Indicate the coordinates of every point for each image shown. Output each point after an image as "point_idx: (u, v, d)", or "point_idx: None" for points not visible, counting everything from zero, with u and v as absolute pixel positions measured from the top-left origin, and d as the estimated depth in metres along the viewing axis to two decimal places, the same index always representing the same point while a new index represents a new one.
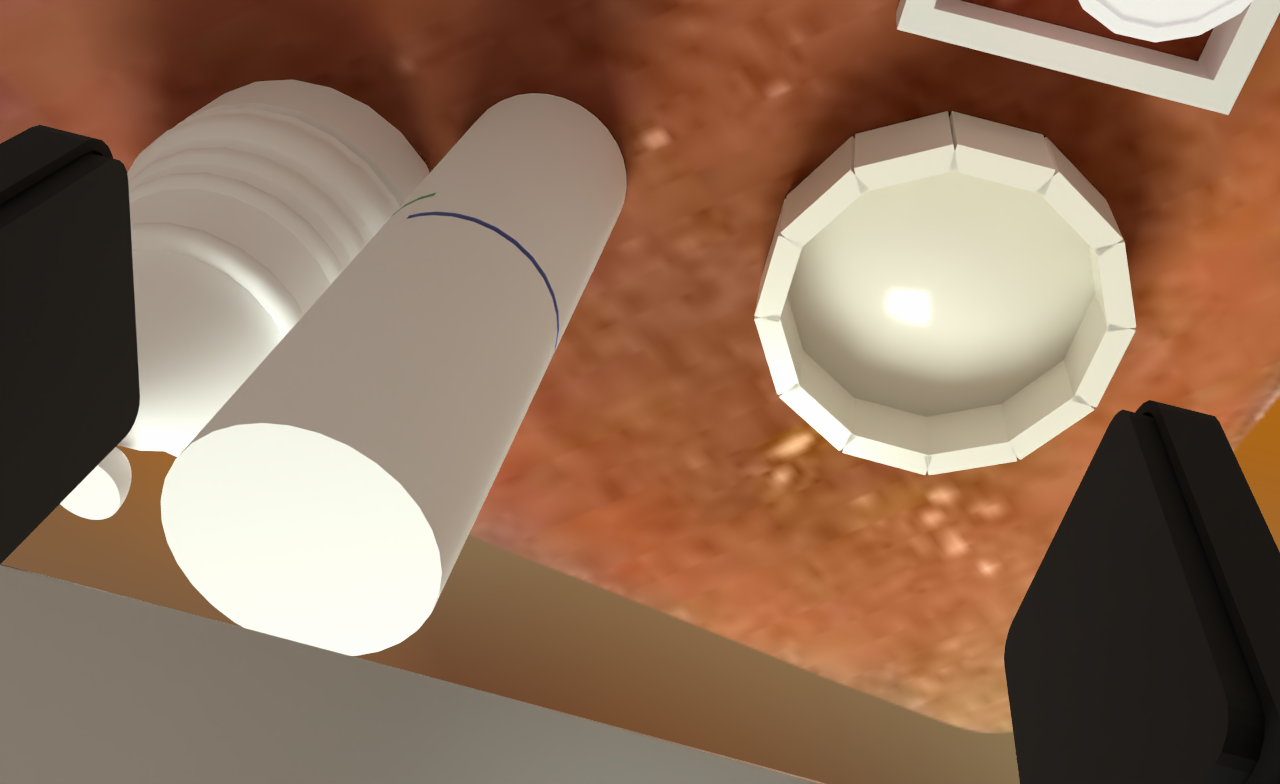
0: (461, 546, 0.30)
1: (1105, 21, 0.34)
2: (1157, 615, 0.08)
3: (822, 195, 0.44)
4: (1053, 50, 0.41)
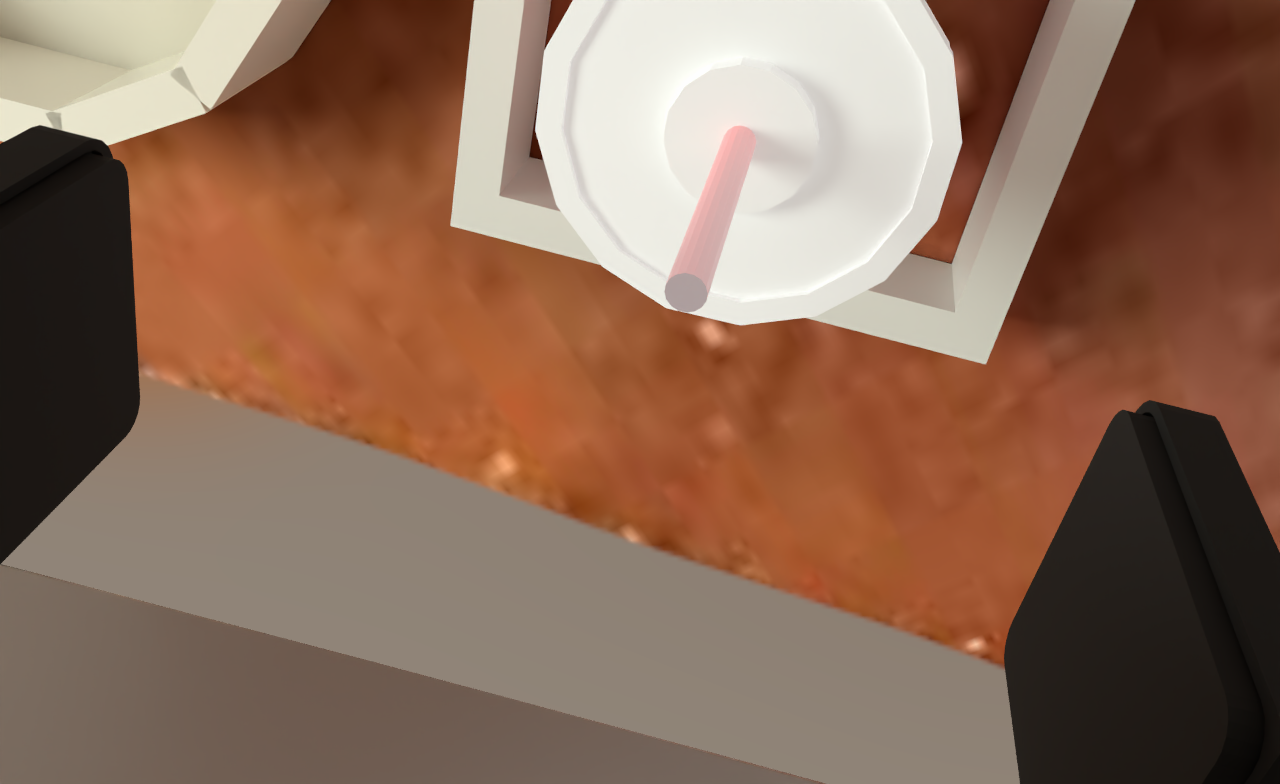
0: None
1: (565, 28, 0.17)
2: (1157, 615, 0.08)
3: None
4: None
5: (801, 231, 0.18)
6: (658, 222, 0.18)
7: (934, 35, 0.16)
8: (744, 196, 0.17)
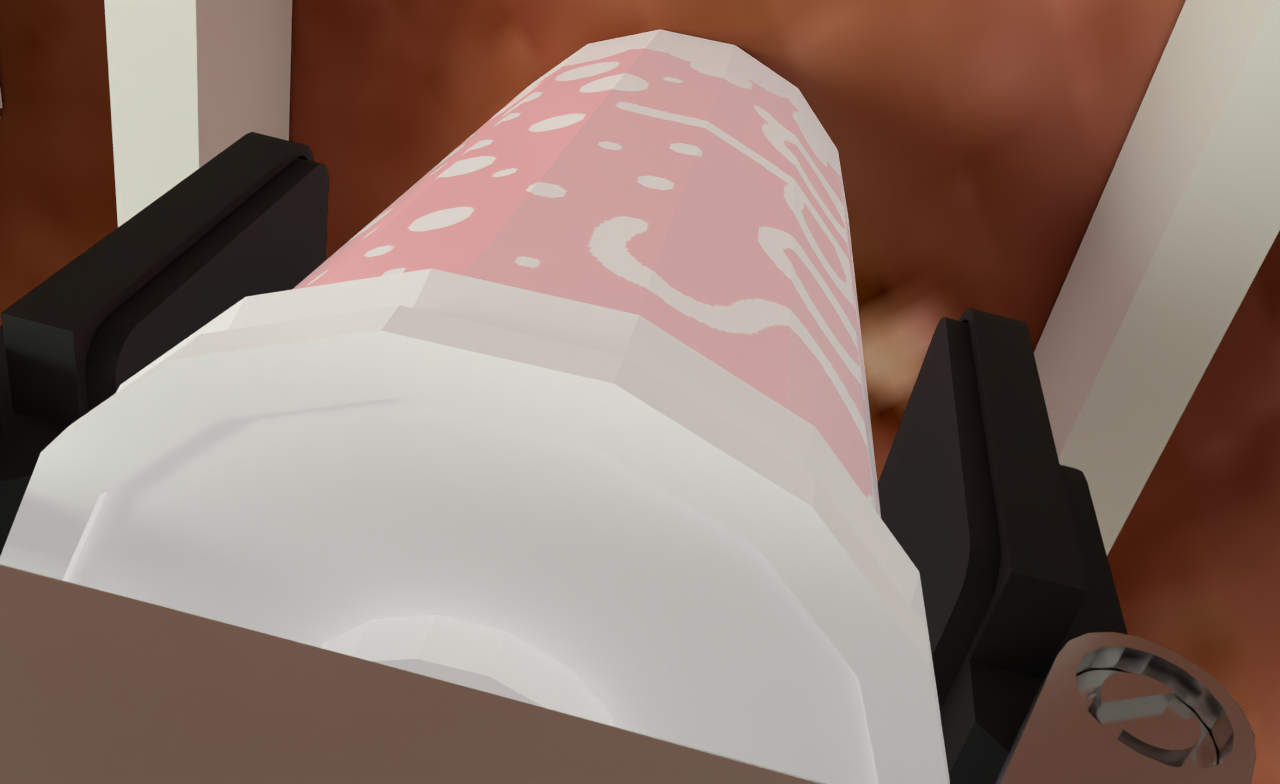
0: None
1: (26, 541, 0.07)
2: (941, 487, 0.09)
3: None
4: (165, 135, 0.13)
5: None
6: None
7: (881, 622, 0.06)
8: None
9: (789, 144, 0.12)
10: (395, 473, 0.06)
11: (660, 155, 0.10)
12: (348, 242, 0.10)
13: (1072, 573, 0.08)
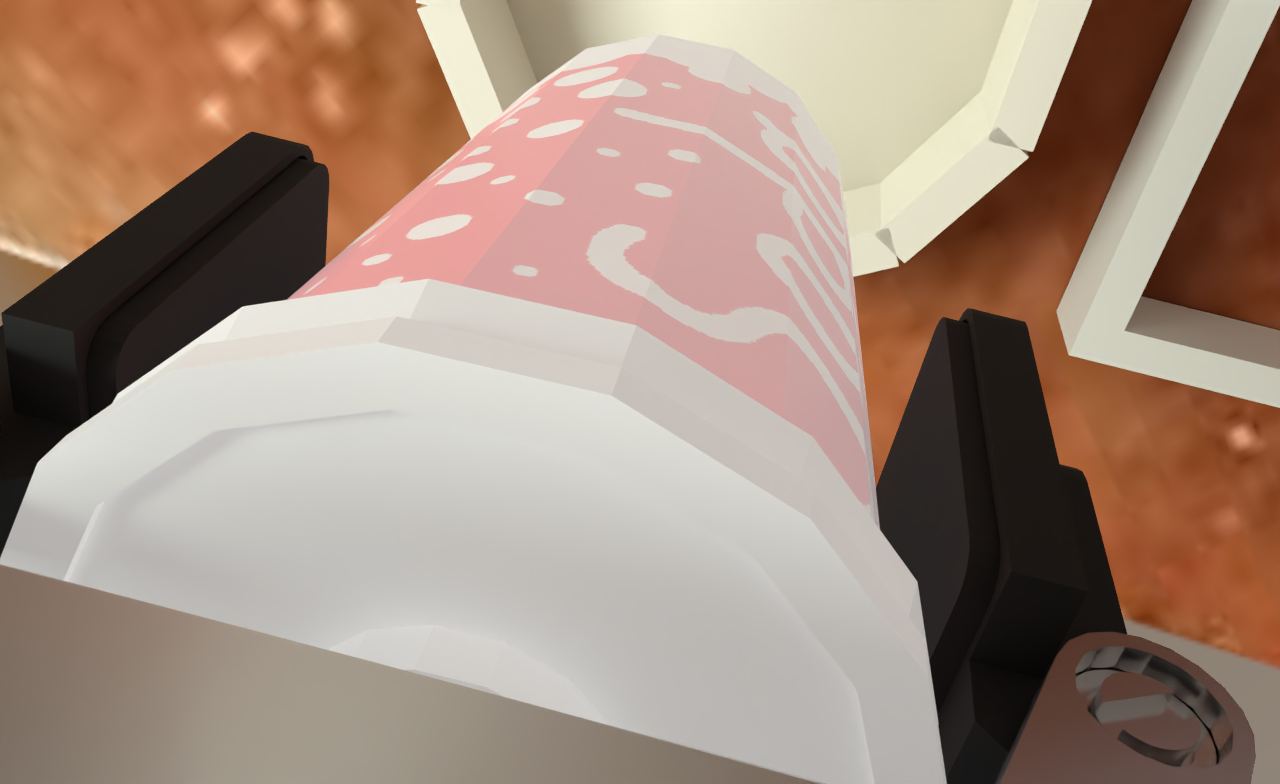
0: None
1: (23, 550, 0.07)
2: (941, 487, 0.09)
3: None
4: (1209, 112, 0.26)
5: None
6: None
7: (879, 633, 0.06)
8: None
9: (788, 150, 0.12)
10: (395, 486, 0.06)
11: (656, 162, 0.10)
12: (346, 249, 0.10)
13: (1070, 573, 0.08)
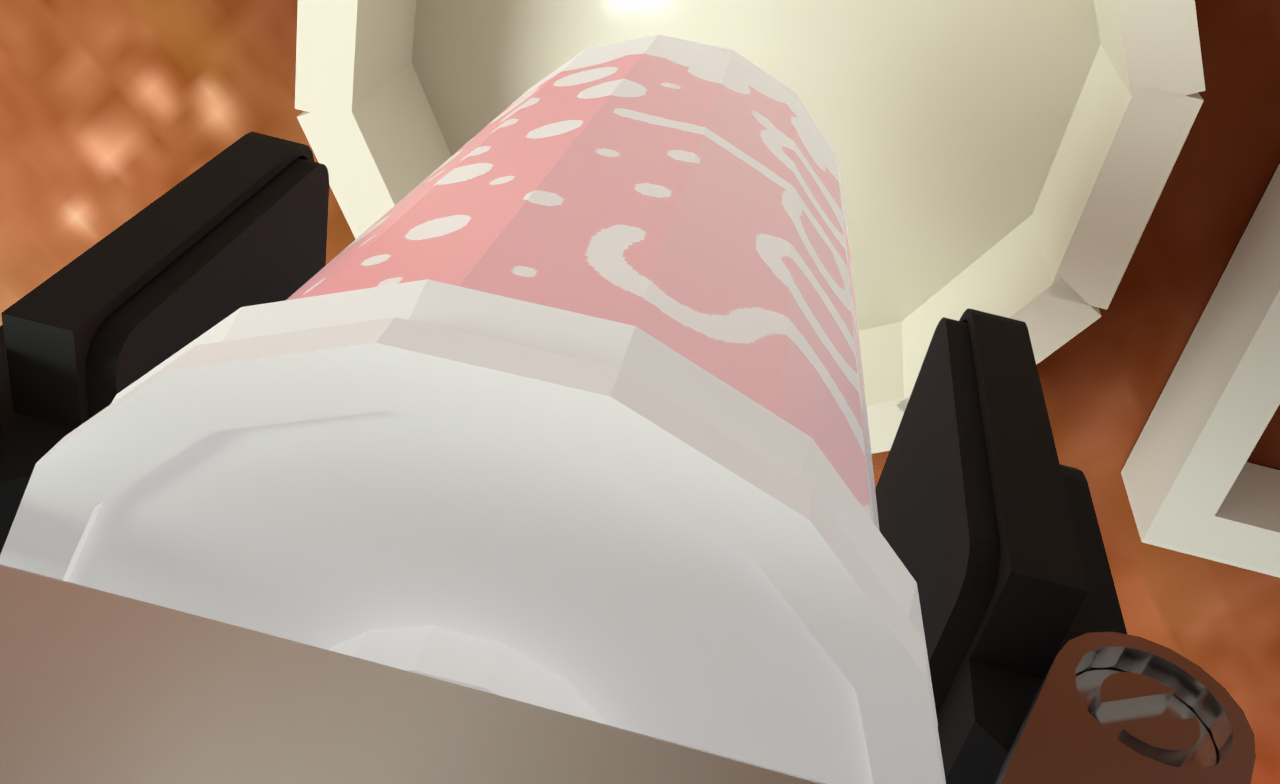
0: None
1: (21, 551, 0.07)
2: (941, 487, 0.09)
3: None
4: None
5: None
6: None
7: (878, 634, 0.06)
8: None
9: (787, 150, 0.12)
10: (393, 486, 0.06)
11: (657, 162, 0.10)
12: (345, 249, 0.10)
13: (1070, 573, 0.08)
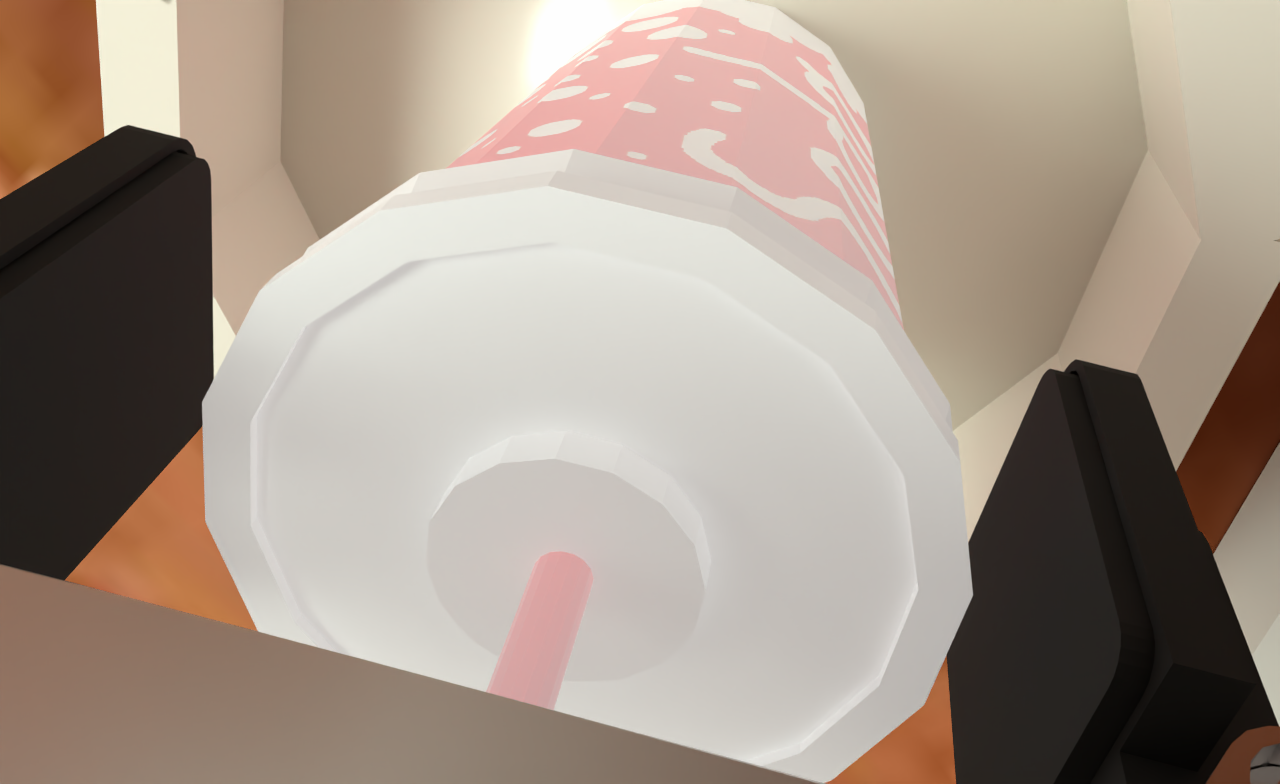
0: None
1: (235, 369, 0.09)
2: (1068, 557, 0.09)
3: None
4: None
5: (684, 695, 0.10)
6: (437, 663, 0.10)
7: (924, 425, 0.08)
8: (577, 657, 0.09)
9: (827, 89, 0.14)
10: (545, 310, 0.08)
11: (726, 87, 0.11)
12: (461, 156, 0.11)
13: (1234, 661, 0.07)
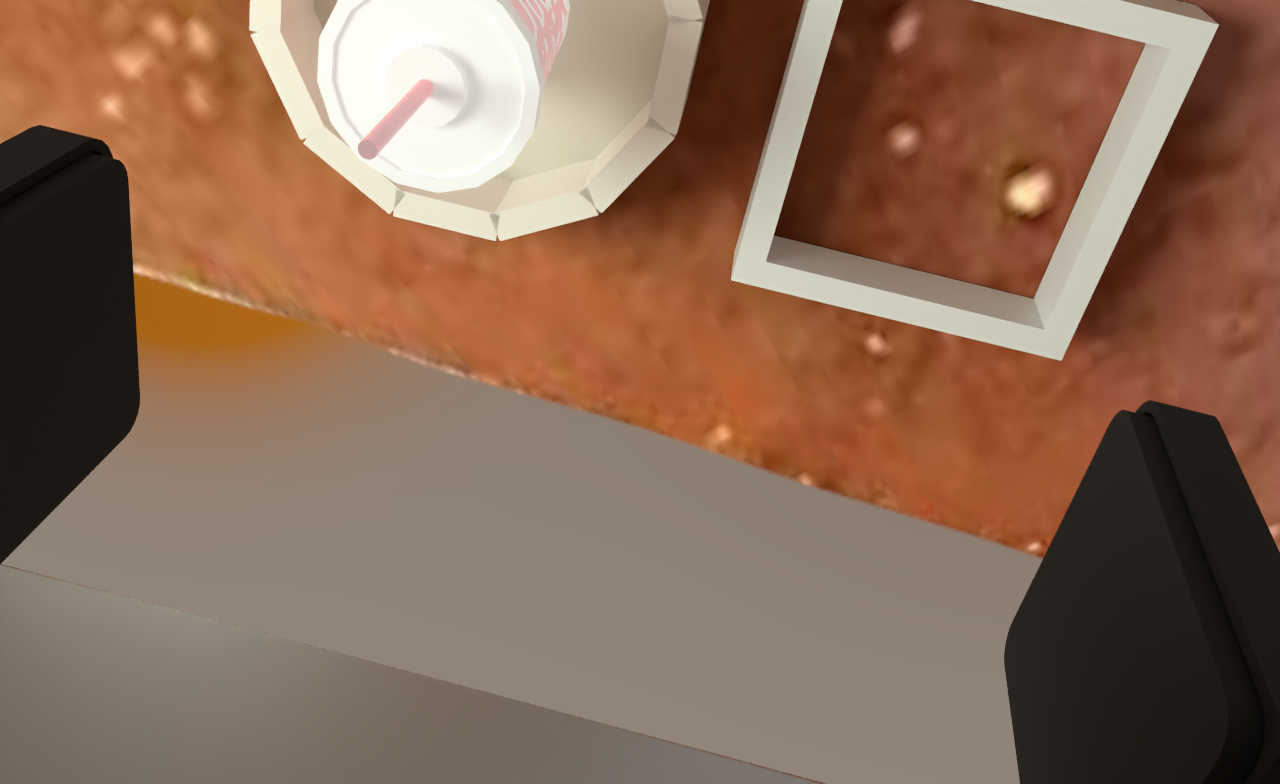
0: None
1: (329, 25, 0.31)
2: (1157, 615, 0.08)
3: None
4: (799, 108, 0.38)
5: (465, 138, 0.32)
6: None
7: (518, 33, 0.30)
8: (430, 118, 0.32)
9: None
10: (417, 3, 0.31)
11: None
12: None
13: None
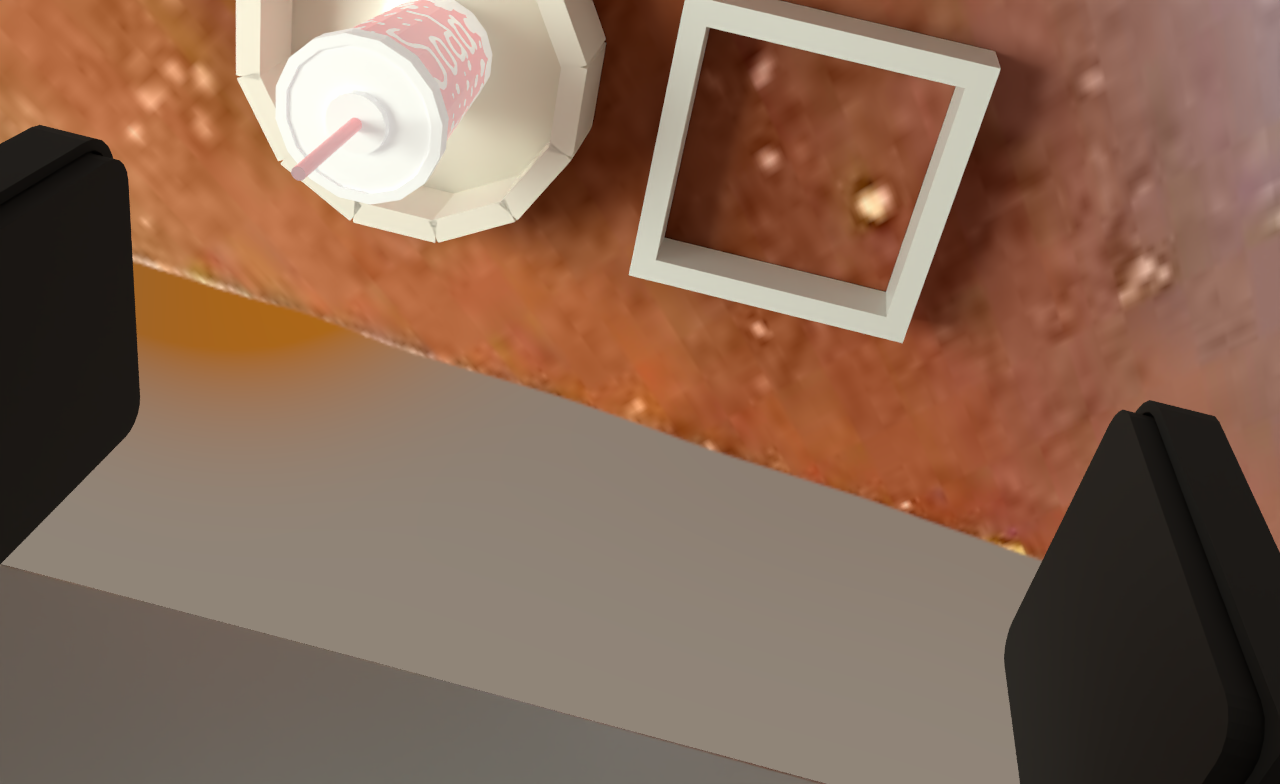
0: None
1: (283, 77, 0.41)
2: (1156, 615, 0.08)
3: None
4: (673, 135, 0.47)
5: (389, 162, 0.42)
6: (331, 158, 0.42)
7: (423, 82, 0.40)
8: (360, 147, 0.41)
9: (455, 24, 0.45)
10: (348, 60, 0.40)
11: (410, 20, 0.43)
12: None
13: None
